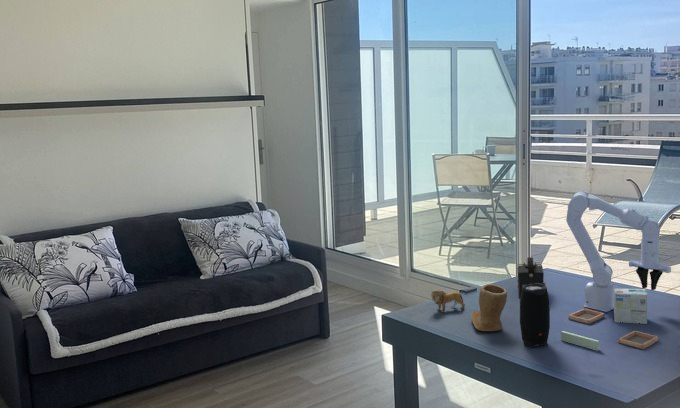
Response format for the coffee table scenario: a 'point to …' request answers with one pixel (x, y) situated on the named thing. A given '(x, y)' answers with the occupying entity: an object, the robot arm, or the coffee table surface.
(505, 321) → the coffee table surface
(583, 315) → the square frames and block
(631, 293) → the light bulb box
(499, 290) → the tan boot
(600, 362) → the coffee table surface
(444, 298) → the lion figurine
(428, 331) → the coffee table surface
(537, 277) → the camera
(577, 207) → the robot arm
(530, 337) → the portable speaker
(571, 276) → the coffee table surface
